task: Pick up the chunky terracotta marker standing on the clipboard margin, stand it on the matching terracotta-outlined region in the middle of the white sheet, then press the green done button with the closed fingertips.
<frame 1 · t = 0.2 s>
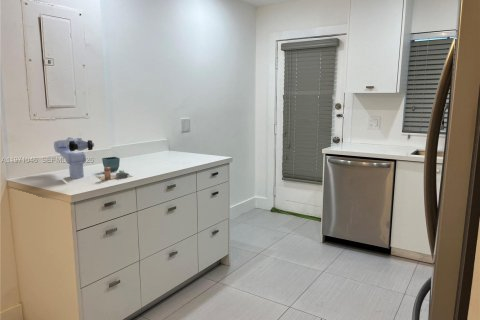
hand: (84, 146, 197), 21 cm above the worktop, tool horizontal, fingers open, 7 cm apart
done button: (121, 172, 215), point 4 cm above the worktop, slide at 0.0 cm
flower pot: (111, 171, 236), on the worktop
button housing: (121, 177, 216), resting on clipboard
clipboard: (114, 177, 217), on the worktop
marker: (107, 179, 210), point 1 cm above the worktop, touching clipboard
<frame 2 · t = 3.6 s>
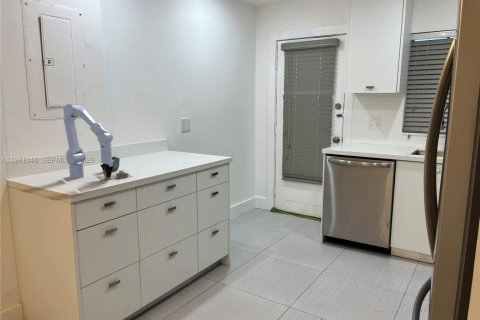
hand: (107, 176, 210), 2 cm above the worktop, tool pointing down, fingers closed on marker, 3 cm apart
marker: (107, 179, 210), point 1 cm above the worktop, touching clipboard, gripper
everything else where it was.
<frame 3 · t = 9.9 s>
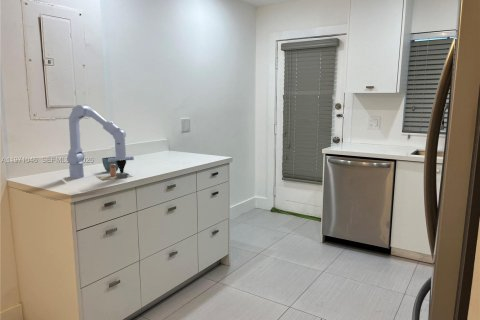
hand: (121, 172, 215), 4 cm above the worktop, tool pointing down, fingers closed, pressing on done button
done button: (121, 174, 215), point 2 cm above the worktop, slide at 1.2 cm, touching gripper
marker: (113, 175, 219), point 1 cm above the worktop, touching clipboard
everything else where it was.
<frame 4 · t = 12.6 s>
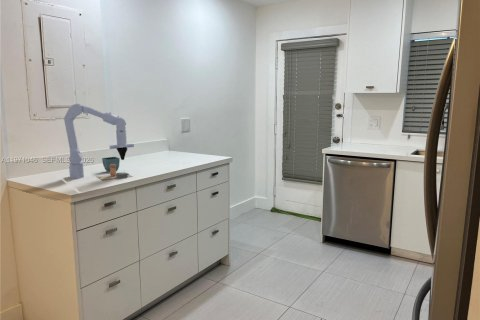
hand: (122, 159, 223), 10 cm above the worktop, tool pointing down, fingers closed
done button: (121, 174, 215), point 2 cm above the worktop, slide at 1.2 cm
everything else where it was.
at the end: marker inside the target area on the clipboard (0.1 cm from its centre), point 1.0 cm above the clipboard's base; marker tilted 0°; done button slide at 1.2 cm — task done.
